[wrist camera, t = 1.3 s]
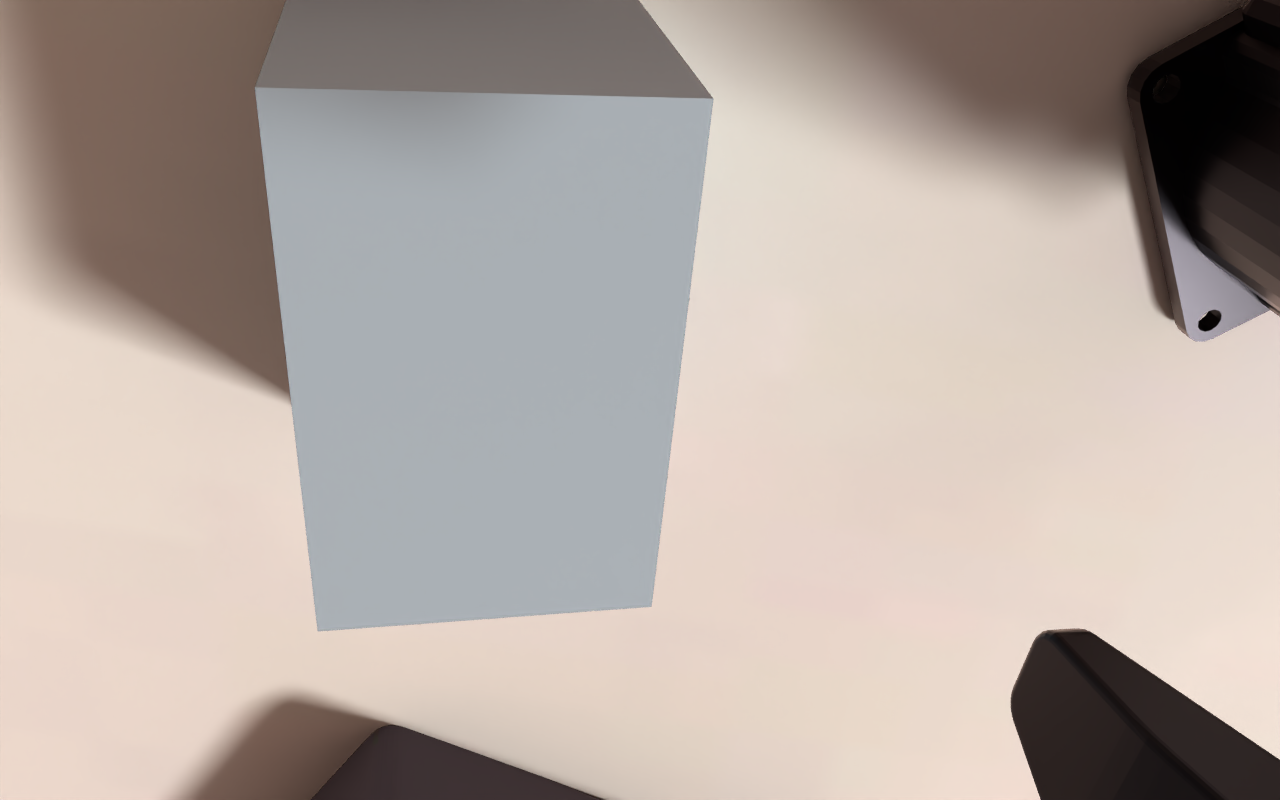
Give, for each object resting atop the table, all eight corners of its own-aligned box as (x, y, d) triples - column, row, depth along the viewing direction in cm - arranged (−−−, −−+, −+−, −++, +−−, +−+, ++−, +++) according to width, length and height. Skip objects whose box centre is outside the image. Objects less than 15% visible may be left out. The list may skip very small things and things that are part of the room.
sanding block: (597, 410, 21) (651, 606, 16) (336, 419, 20) (318, 631, 16) (628, -13, 17) (713, 98, 12) (295, -28, 16) (254, 88, 11)
